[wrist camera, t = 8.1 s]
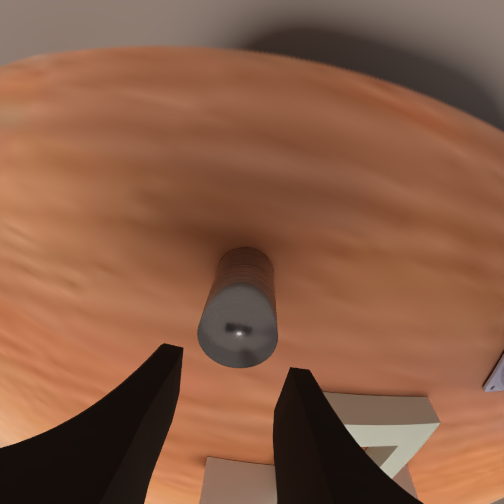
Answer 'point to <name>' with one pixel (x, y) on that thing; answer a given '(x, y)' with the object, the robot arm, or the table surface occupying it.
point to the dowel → (240, 311)
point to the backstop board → (256, 482)
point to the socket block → (386, 425)
